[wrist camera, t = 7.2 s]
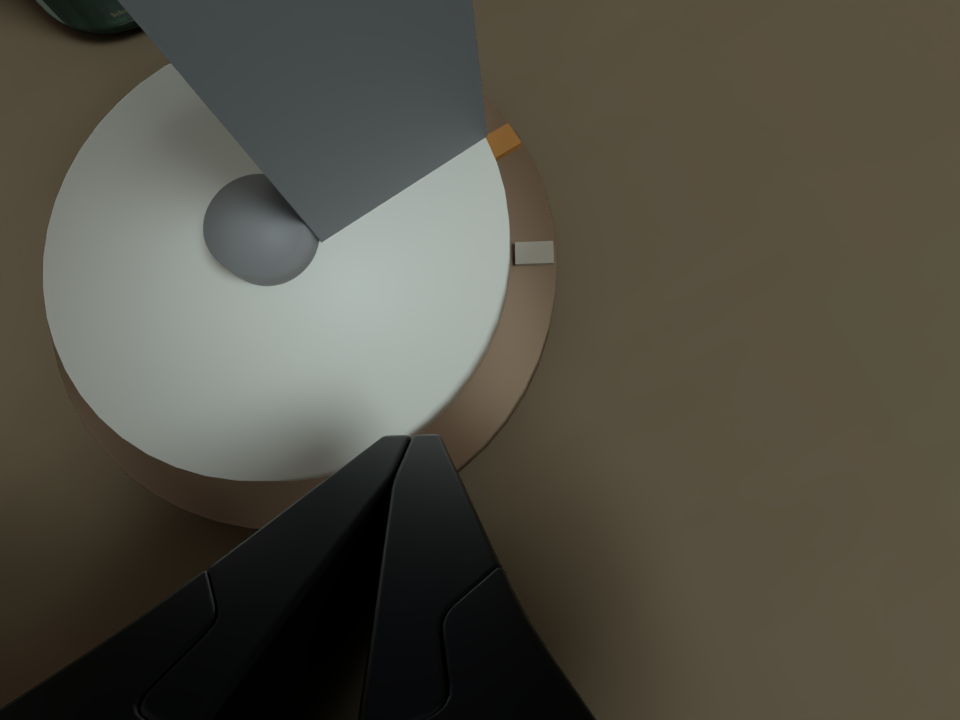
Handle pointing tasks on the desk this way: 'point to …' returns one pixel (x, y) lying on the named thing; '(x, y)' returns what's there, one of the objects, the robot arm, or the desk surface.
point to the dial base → (459, 425)
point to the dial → (283, 235)
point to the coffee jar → (90, 15)
